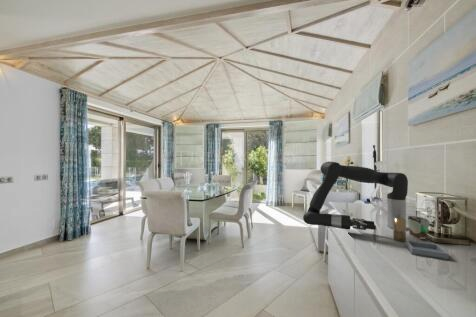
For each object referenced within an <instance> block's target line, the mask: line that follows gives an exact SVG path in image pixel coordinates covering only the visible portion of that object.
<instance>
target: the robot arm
mask: <svg viewBox="0 0 476 317" xmlns="http://www.w3.org/2000/svg"><path fill="white" fill-rule="evenodd" d="M320 172H321V174H322V175H324V176H325V177H324V180H323V182H322V183H321V184H320V186H319V187H318V188H317V189H316V190H315V192H314V193H313V195H312V197H311V200H310V202H309V207H308V209H307V212H305V213H304V214H303V217H302V220H303V221H304V223H305V224H307V225H310V226H311V225H313V226H324V227H332V228H334V229H335V228H336V229H343V230H347V231H348V230H351V227H352V229H354V230H355V229H356V230H364V231H366V230H375V231H376V228H377V226H376V225H375V221H374V220H373V221H372V220H366V219H364V218H355V217H353V218H352V219H351V215H348V214H339V213H337V214H334V213H320V212H321V210H322V208H323V206H324V203H325V201H326V198H327V197H328V195H329V193H330V191H331V190H332V188H333V187H334V186H335V183H336V182H337V180H338V179H339V178H344V179H347V180H350V181H353V182H358V183H365V184H379V185H382V186H386V187H390V188H392V190H391V192H389V193H387V194H386V195H387V196H386V198H387V199H386V201H387V202H386V204H387V206H386V207H387V209H386V210H387V212H386V214H387V215H386V216H387V217H386V219H387V220H386V222H387V224H386V226H387V227H389V228H390V229H393V217H399V218H404V219H406V220H407V198H406V197H407V195H408V191H409V189H408V186H409V180H408V177H407V175H406V174H405V173H402V172H383V171H377V170H375V169H373V168H369V167H364V166H357V165H342V164H340V163H339V162H337V161H326V162H324V163H322V164H321V166H320Z"/></svg>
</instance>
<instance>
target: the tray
mask: <svg viewBox="0 0 476 317" xmlns="http://www.w3.org/2000/svg"><path fill="white" fill-rule="evenodd" d="M405 247H406V248H407V249H408V251H409V252H410V254H411V255H413V256H419V257H425V258H433V259H438V260H444V261H445V260H446V261H449V253H448V252H447V251H446V250H445V249H444V248H443V247H441V246H440V245H439V244H437V243H429V242H422V241H414V240H407V239H406V242H405Z"/></svg>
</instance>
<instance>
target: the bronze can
mask: <svg viewBox="0 0 476 317" xmlns="http://www.w3.org/2000/svg"><path fill="white" fill-rule="evenodd" d="M392 230H393V232H392V233H393V234H392V237H393V241H395V242H398V243H399V242H400V243H406V240H407V218H406V219H404V218H399V217H393V228H392Z"/></svg>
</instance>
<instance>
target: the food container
mask: <svg viewBox="0 0 476 317" xmlns="http://www.w3.org/2000/svg"><path fill="white" fill-rule="evenodd" d="M407 220H408V233H409V236H411V237H413V238H415V239H417V240H419V241H427V240H428V229H429V226H430V225H431V223H430V221H429V219H428V218H425V217H421V216H414V215H408V216H407Z"/></svg>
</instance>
